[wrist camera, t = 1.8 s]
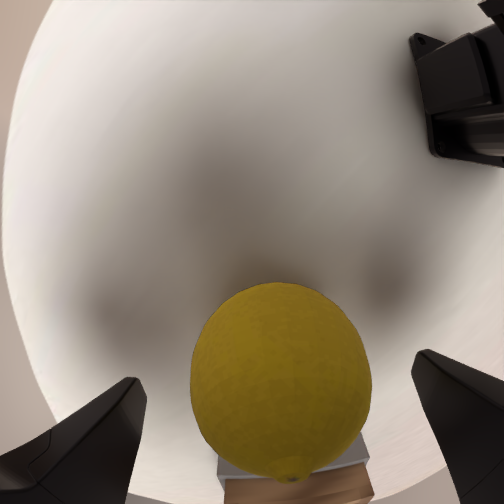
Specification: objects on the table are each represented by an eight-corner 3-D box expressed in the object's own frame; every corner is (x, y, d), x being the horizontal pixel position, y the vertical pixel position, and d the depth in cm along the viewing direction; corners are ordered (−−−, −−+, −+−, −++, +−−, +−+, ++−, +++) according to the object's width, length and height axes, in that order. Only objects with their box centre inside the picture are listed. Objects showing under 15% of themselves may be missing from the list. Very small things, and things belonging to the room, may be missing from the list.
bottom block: (358, 426, 15) (369, 457, 12) (339, 479, 18) (344, 502, 15) (219, 442, 16) (216, 475, 13) (236, 490, 18) (236, 513, 15)
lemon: (354, 292, 12) (451, 424, 4) (285, 376, 13) (307, 516, 5) (249, 228, 11) (248, 358, 3) (187, 329, 12) (136, 481, 4)
